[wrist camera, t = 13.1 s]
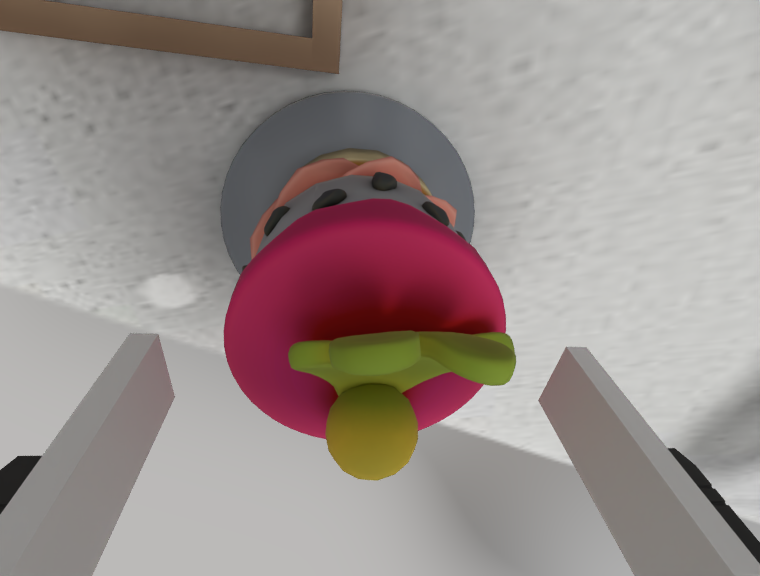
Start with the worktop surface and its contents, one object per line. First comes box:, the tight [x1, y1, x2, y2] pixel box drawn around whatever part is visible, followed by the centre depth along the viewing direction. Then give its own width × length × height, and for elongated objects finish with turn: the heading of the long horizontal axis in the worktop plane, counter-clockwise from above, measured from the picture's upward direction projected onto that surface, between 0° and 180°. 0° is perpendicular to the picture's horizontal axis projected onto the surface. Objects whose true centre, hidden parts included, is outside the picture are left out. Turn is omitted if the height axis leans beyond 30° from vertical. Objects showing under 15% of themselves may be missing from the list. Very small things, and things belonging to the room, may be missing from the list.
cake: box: [224, 148, 516, 480], centre depth 16 cm, size 10×10×15 cm
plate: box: [221, 91, 475, 275], centre depth 23 cm, size 15×15×1 cm
